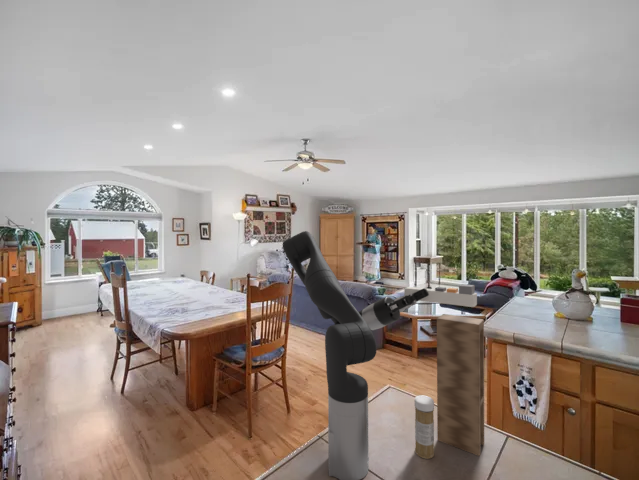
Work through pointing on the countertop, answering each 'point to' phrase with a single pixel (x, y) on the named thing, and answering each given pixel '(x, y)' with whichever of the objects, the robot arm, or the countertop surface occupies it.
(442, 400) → the tall wooden block
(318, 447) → the countertop surface
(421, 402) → the sprinkles bottle
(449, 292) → the power strip
